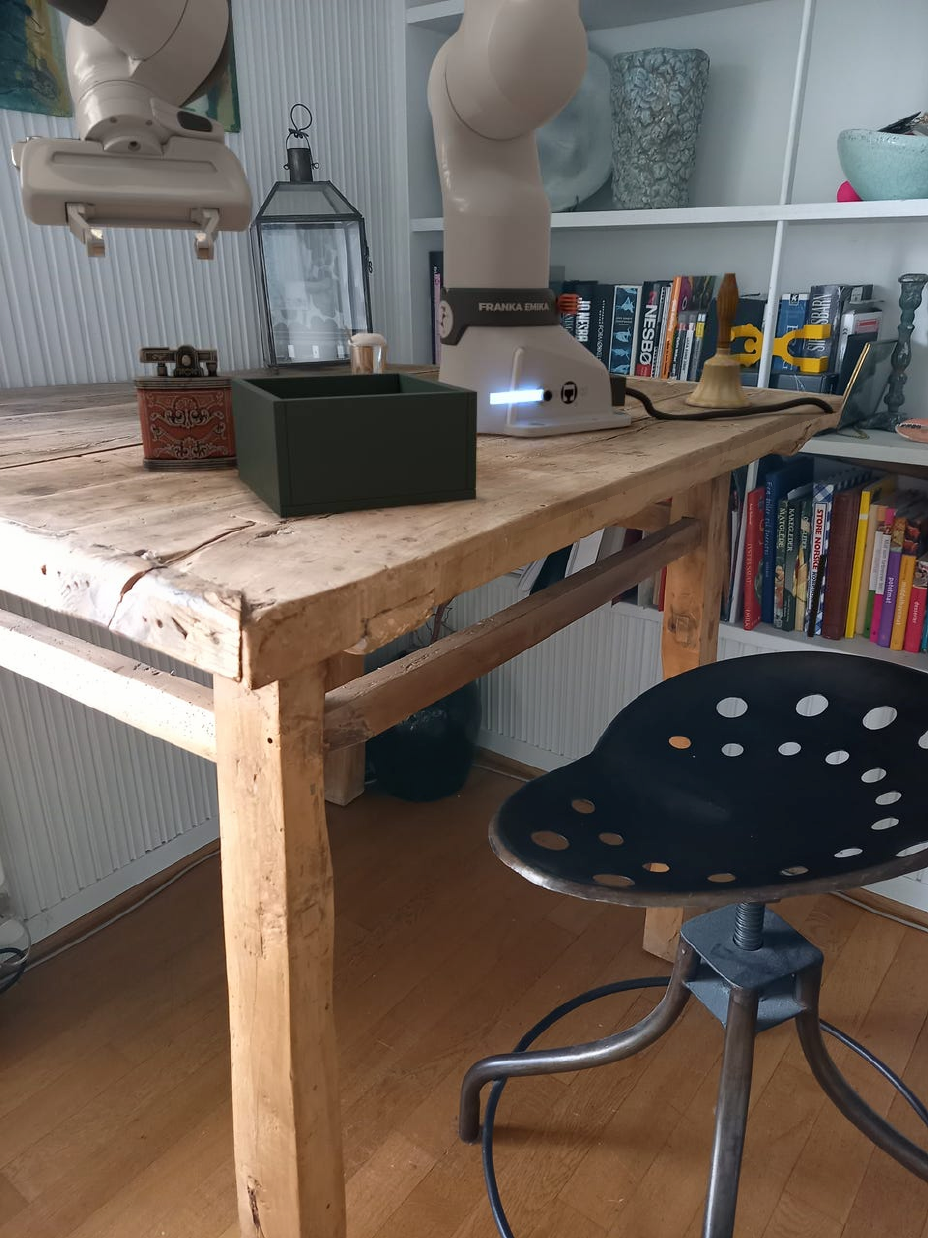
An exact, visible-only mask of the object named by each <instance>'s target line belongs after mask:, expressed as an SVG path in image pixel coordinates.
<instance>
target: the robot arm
mask: <svg viewBox="0 0 928 1238" xmlns="http://www.w3.org/2000/svg"><path fill="white" fill-rule="evenodd" d="M44 1H45V3H47V5H49V6H51V7H53V8H54V9H56V10H57V11H59V12H61V13H63V14H65V15H66V16H68V17H69V18H70V21H69V24H68V27H67V33H66V40H65V67H66V76H67V82H68V88H69V92H70V96H71V99H72V101H73V103H74V104H73V105H74V106H75V110H74V117H75V118H74V119H75V125H76V130H77V136H78V138H74V137H44V136H42V135H28V136H27V137H26V139H23V140H18V141H17V142H14V143H12V145H11V147H10V149H11V150H10V154H11V162H12V165H13V166H14V168H15V169H16V170H17V172H19V180H20V181H19V183H20V191H21V201H22V208H23V212H24V216H25V218H27V219H28V220H30V221H31V222H32V223H33V224H35V225H37V226H51V227H54V226H57V227H68V228H69V232H70V233H71V234H72V235H73V236H74V237H75V238H76V239H77V240H78V241H80V243H82V245H84V246H85V249H86V254H87V258H106V246H105V238H104V234H103V229H99V228H113V229H115V228H116V229H117V228H118V229H143V230H144V229H146V230H147V229H148V230H174V231H176V230H177V231H202V232H194V244H193V248H194V253H195V257H196V260H206V261H214V258H215V242H216V240H217V239H218V237H219V232H233V233H235V232H237V233H242V232H244V231H246V230H247V229H248V228H249V226H250V225H251V222H252V218H253V210H254V208H253V206H254V198H253V193H252V189H251V186H250V183H249V180H248V177H247V174H246V172H245V170H244V168H243V166H242V163H241V161H240V159H239V157H238V156H237V154H236V153H235V152H234V150H232V149H231V148H230V147H229V146H227V145H226V138H225V129H224V126H223V125H222V123H221V122H219V121H218V120H216V119H214V118H210V117H206V116H203V115H200V114H196V113H193V112H191V111H187V110H185V109H183V108H186V107H187V106H189V105H191V104H192V103H194V102H196V101H198V100H200V99H201V98H203V97H204V96H205V95H207V94H208V93H209V92H211V90H213V88H214V87H215V86H216V85H217V84H218V83H219V81H220V80H221V79H222V78H223V76H224V74H225V73H226V71H227V69H228V67H229V64H230V61H231V58H232V54H233V44H234V43H233V42H234V23H233V21H234V20H233V15H232V10H231V6H230V3H229V0H44ZM579 2H580V1H579V0H465V2H464V10H463V15H462V19H461V22H460V25H459V28H458V30H457V31H456V32H455V33H454V34H453V35H451V36H450V37H449V38H448V39H447V40H446V41H445V42H444V43H443V45H441V47H440V48H439V50H438V51H437V54H436V55H435V57H434V60H433V63H432V65H431V69H430V73H429V77H428V82H427V94H426V96H427V104H428V109H429V113H430V115H431V118H432V128H433V138H434V139H433V140H434V148H435V154H436V155H435V156H436V162H437V169H438V175H439V176H438V177H439V183H440V190H441V198H442V216H443V222H442V223H443V224H442V226H443V227H442V228H443V287H441V289H440V290H439V301H438V302H439V303H438V304H439V305H438V317H437V318H438V319H437V320H438V331H439V333H438V334H439V342H440V344H441V351H440V360H439V361H440V362H439V371H438V378H437V381H439V382H443V383H447V384H450V385H454V386H458V387H462V388H465V389H469V390H473V391H476V392H477V434H491V435H494V434H495V435H505V436H514V437H522V438H523V437H524V438H526V437H527V438H536V437H544V436H553V435H562V434H571V433H577V432H587V431H597V430H603V429H612V428H621V427H628V426H631V425H632V417H631V415H630V414H629V413H627V412H625V411H622V410H620V409H616V408H613V407H625V406H626V396H628V397H631V398H634V399H636V400H638V401H639V402H640V403H641V404H642V406H643V408H644V411H645V412H646V413H647V414H648V415H649V416H650V417H651V418H653V419H657V420H659V421H683V422H684V421H686V422H689V421H690V422H691V421H693V422H696V421H697V422H698V421H699V422H701V421H706V420H716V419H729V418H730V419H731V418H741V417H748V416H753V415H760V414H769V413H778V412H782V411H785V410H790V409H793V408H796V407H801V406H808V405H809V406H815V407H818V408H819V409H820V410H822V411H823V412H824V413H826V414H835V410H834V409H833V407H832V406H831V405H830V404H829V403H828V402H827V401H825V400H823V399H821V398H820V397H815V396H814V397H813V396H808V397H807V396H806V397H800V398H799V397H798V398H795V399H791V400H787V401H783V402H780V403H774V404H767V405H757V406H756V405H755V406H749V407H744V408H734V409H720V410H719V409H718V410H711V411H703V412H696V413H687V414H672V413H666V412H663V411H661V410H658V409H656V408H655V407H654V406H653V403H652V401H651V399H650V398H649V397H648V396H647V395H646V394H645V393H643V392H642V391H639V390H638V389H635V388H632V387H628V386H627V381H628V380H627V379H628V378H627V376H623V375H619V374H615V373H612V372H609V371H608V369H607V367H606V365H605V364H604V363H603V362H602V361H601V360H600V359H599V358H598V357H597V356H595V355H594V354H593V353H592V351H591V352H590V350H589V349H588V348H587V347H585V345H583V344H582V343H581V342H579V340H577V338H576V337H574V336H573V334H571V333H570V332H569V331H568V330H566V329H565V328H564V327H563V325H562V323H563V319H562V316H561V314H565V315H566V314H568V315H577V314H578V313H579V312H580V311H579V310H581V309H582V307H581V306H583V303H582V299H581V298H580V295H579V294H576V293H570V294H569V293H563V294H562V295H560V296H559V295H558V294H557V293H556V292H555V291H553V290H552V289H551V288H549V287H550V285H549V284H550V260H551V235H552V233H551V231H552V206H551V203H550V202H551V201H550V199H549V197H548V194H547V193H546V190H545V186H544V182H543V178H542V172H541V165H540V159H539V152H538V143H537V142H538V141H537V140H538V139H537V134H538V133H537V132H538V129H540V128H542V127H544V126H546V125H548V124H549V123H551V122H552V121H554V120H555V119H556V118H557V117H558V116H559V115H560V114H562V111H563V110H564V109H565V108H566V107H567V106H568V105H569V103H570V102H571V100H572V99H573V97H574V96H575V95H576V93H577V92H578V90H579V89H580V87H581V85H582V83H583V81H584V78H585V75H586V71H587V68H588V61H589V42H588V37H587V33H586V29H585V26H584V23H583V21H582V19H581V17H580V7H579V6H580V3H579ZM578 306H579V307H578ZM827 559H828V553H823V554H819V557H818V563H817V568H816V575H815V580H814V585H813V592H812V598H811V604H810V610H809V611H810V612H809V615H808V616H809V617H808V626H807V633H806V637H807V638H814V637H815V632H816V624H817V617H818V611H819V605H820V599H821V593H822V586H823V583H824V582H823V581H824V575H825V569H826V566H827V565H826V564H827Z"/></svg>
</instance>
